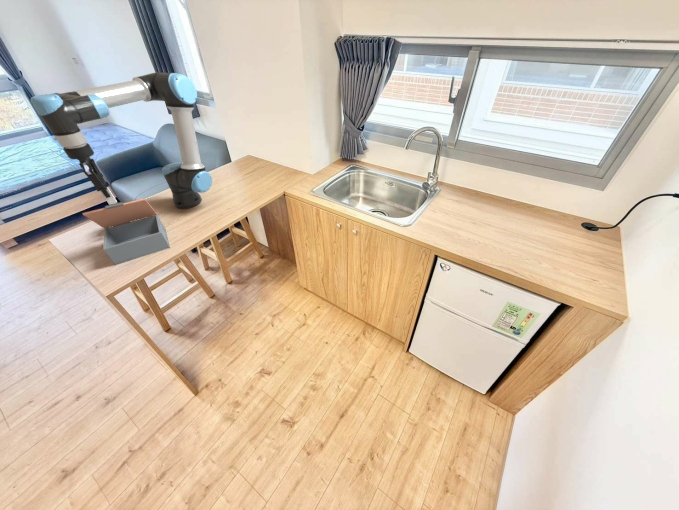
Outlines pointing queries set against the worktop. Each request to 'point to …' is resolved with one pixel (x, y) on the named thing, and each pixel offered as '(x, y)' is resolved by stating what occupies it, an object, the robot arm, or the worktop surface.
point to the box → (135, 239)
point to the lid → (121, 213)
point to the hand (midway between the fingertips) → (113, 203)
